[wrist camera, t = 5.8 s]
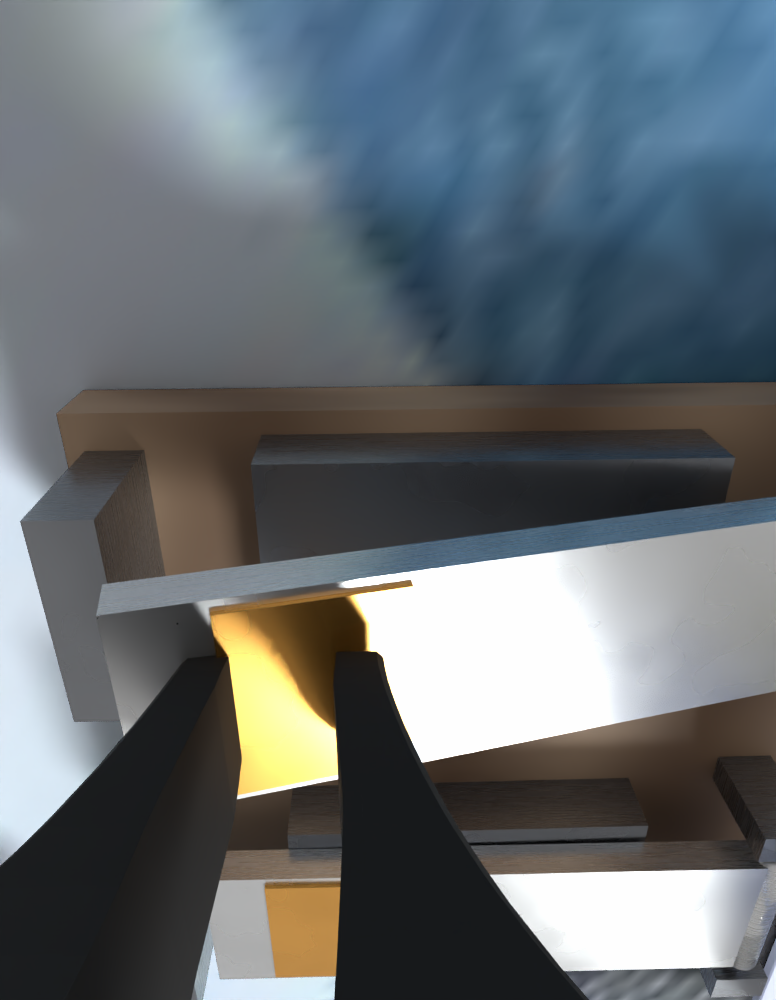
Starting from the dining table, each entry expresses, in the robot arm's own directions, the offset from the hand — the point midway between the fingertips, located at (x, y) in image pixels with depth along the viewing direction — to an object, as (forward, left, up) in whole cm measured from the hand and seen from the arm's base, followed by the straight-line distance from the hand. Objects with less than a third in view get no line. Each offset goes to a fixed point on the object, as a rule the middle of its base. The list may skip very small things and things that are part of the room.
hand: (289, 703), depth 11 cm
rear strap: (-4, +10, -4) cm, 11 cm away
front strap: (-4, 0, -2) cm, 5 cm away
